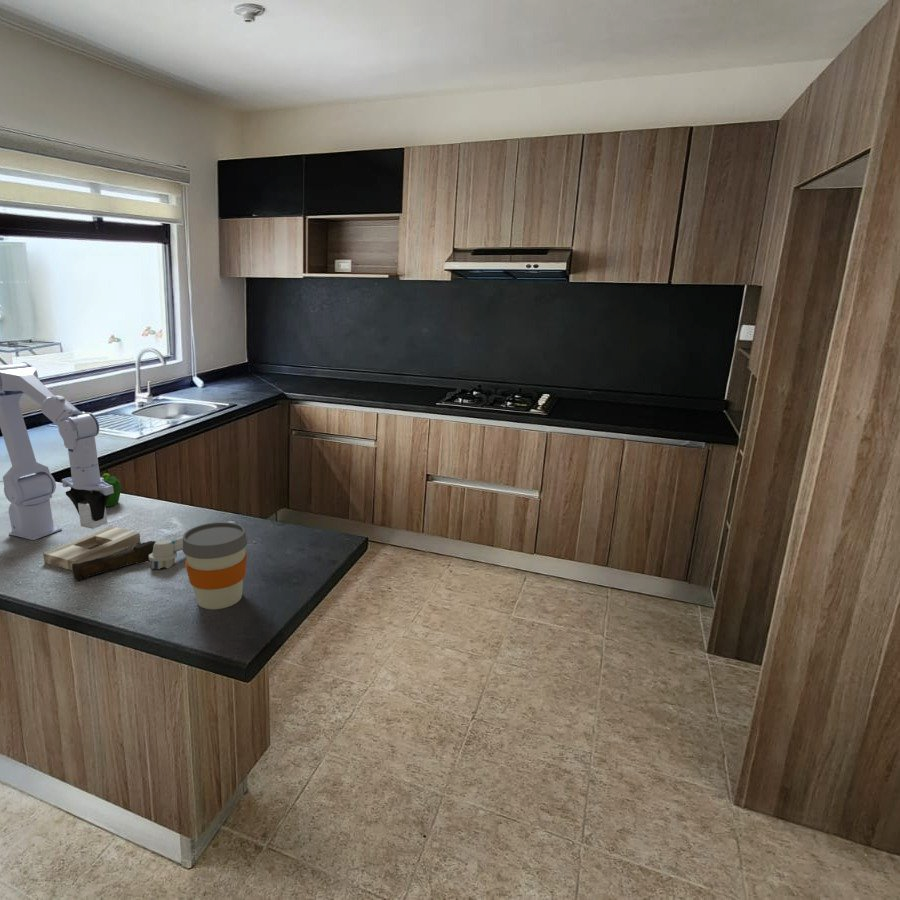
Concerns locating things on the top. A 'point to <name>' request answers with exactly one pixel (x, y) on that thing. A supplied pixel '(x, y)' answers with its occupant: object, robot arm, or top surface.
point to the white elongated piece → (167, 552)
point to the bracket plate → (78, 549)
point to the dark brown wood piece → (114, 561)
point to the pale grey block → (89, 516)
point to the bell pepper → (114, 496)
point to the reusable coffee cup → (216, 563)
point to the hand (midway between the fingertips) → (92, 518)
